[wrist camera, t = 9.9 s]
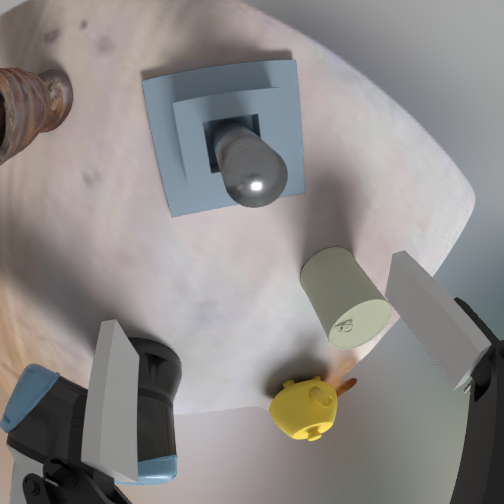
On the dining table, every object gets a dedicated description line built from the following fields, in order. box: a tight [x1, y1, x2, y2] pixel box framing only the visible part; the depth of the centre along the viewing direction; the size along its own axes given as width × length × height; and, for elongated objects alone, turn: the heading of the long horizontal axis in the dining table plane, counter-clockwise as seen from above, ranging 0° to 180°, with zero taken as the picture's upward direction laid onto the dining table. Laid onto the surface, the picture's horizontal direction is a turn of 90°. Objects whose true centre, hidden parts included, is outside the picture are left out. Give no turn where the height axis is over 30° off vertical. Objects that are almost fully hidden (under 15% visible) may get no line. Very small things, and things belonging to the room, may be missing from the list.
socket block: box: [142, 60, 305, 218], centre depth 28 cm, size 16×16×4 cm
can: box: [300, 247, 391, 349], centre depth 38 cm, size 9×9×12 cm
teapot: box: [269, 376, 337, 441], centre depth 55 cm, size 20×16×14 cm
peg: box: [211, 119, 288, 208], centre depth 23 cm, size 4×4×14 cm
